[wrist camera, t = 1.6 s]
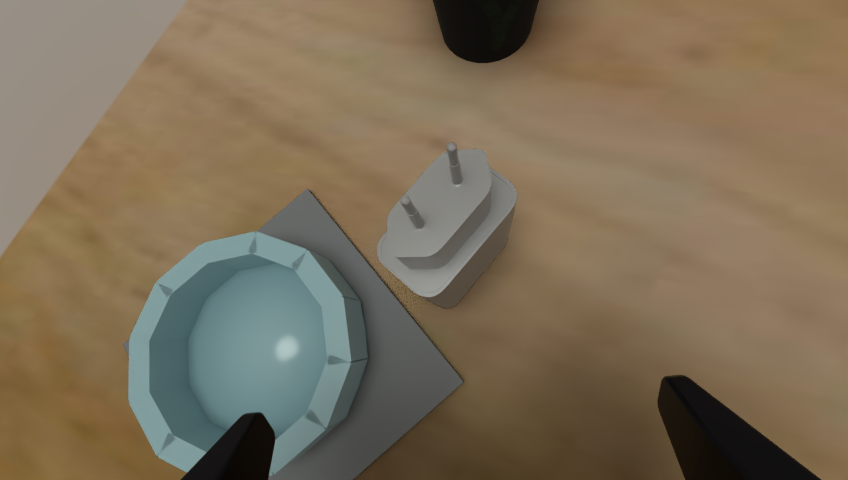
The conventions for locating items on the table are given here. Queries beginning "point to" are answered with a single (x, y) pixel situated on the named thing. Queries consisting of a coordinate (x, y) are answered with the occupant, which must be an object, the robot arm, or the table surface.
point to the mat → (387, 355)
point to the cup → (485, 27)
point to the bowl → (246, 348)
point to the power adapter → (449, 226)
